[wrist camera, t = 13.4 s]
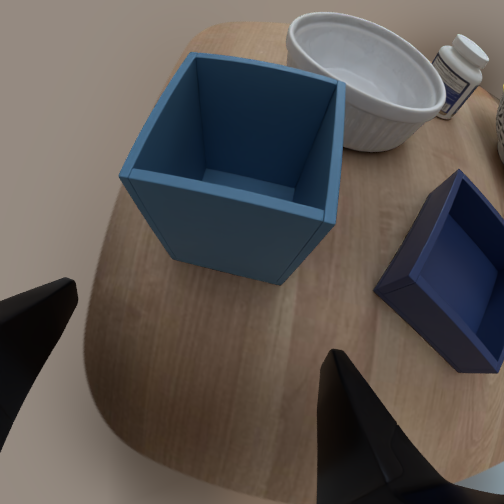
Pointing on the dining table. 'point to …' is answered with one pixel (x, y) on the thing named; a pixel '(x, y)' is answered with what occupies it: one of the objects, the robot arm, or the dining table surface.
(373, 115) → the ramekin
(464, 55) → the pill bottle
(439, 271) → the navy bin
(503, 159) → the bowl
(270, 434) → the dining table surface
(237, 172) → the blue bin
